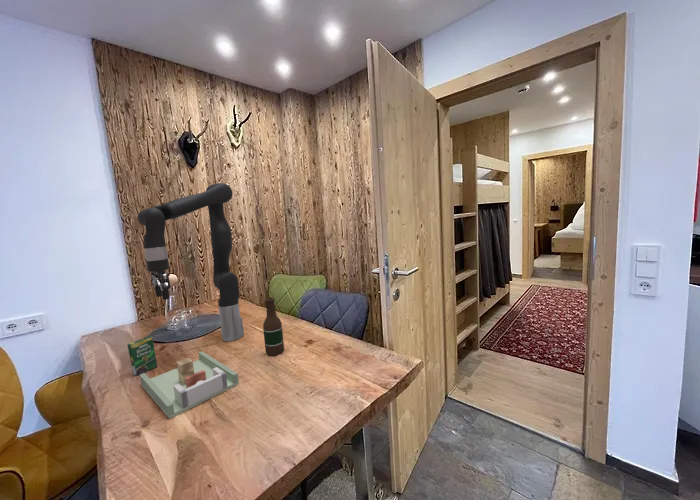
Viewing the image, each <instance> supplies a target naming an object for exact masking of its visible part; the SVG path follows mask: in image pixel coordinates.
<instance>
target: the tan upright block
mask: <svg viewBox="0 0 700 500" xmlns="http://www.w3.org/2000/svg"><path fill="white" fill-rule="evenodd" d="M193 362H194V360H192V359H191V358H189V357H187V358H184V359H182V360H179V361H176V367H177V369H178V376H179V381H180V382H181V383H182V384H185V383H186V389H187V388H189V387H191V386H193V385H195V384H196V383H197V382H198V381H201V380H203V381H204V380H206V373H205V371H204V370H202V371H199V372H197V373H195V374H194V366H193Z"/></svg>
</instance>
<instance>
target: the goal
mask: <svg viewBox="0 0 700 500" xmlns="http://www.w3.org/2000/svg"><path fill="white" fill-rule="evenodd" d="M226 387H228V386H227V378H226V373H225V372H224V371H222V370H221V369H219V368H217V367H216V368H213V377H211V378H209V379H207V380H204V381H202V382H200V383H198V384H196V385H193V386H191V387H189V388H187V389H184V388H183V387H182V386H181V385H179V384H176V385H174V386H173V388H174V394H175V400H176V401H177V402H178V404H179V405H180V406H181V407H182V408H183V409H184V408H186V407H188V406H190V405H192V404H194V403H196V402H198V401H200V400H202V399H204V398H206V397H208V396H210V395H212V394H214V393H216V392H218V391H220V390H222V389H224V388H226Z"/></svg>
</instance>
